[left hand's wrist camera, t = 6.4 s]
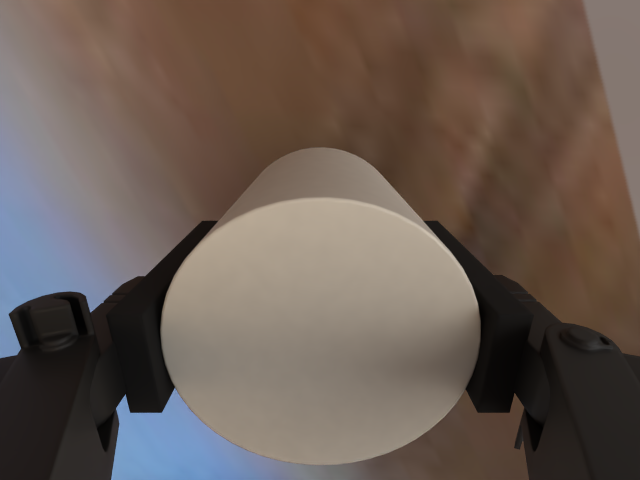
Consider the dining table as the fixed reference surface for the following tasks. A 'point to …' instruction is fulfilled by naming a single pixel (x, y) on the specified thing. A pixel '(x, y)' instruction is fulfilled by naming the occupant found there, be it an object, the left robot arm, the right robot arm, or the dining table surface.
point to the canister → (320, 317)
